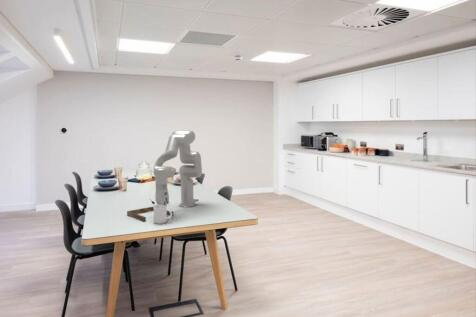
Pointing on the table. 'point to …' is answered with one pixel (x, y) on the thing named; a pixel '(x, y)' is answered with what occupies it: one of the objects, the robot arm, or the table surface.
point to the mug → (161, 213)
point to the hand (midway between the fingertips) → (162, 214)
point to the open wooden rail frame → (135, 212)
